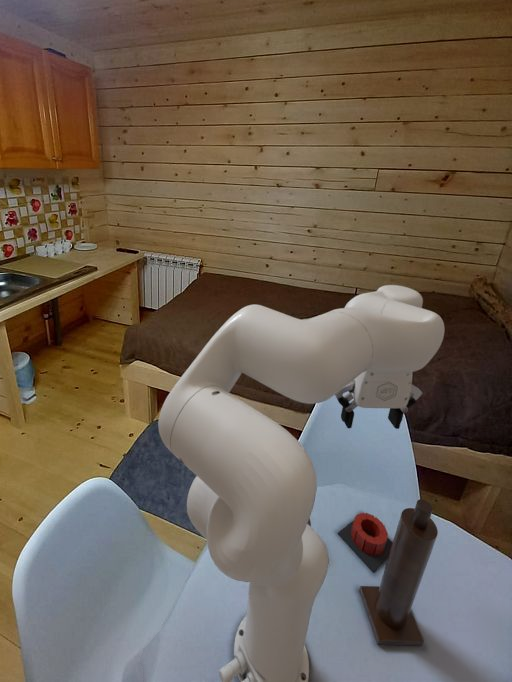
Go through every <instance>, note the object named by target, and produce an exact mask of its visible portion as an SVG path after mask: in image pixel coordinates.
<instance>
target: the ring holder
mask: <svg viewBox="0 0 512 682" xmlns="http://www.w3.org/2000/svg"><path fill="white" fill-rule="evenodd" d="M433 511H434V508H433V506H432V504H431V503H430V502H429V501H427V500H425V499H422V498H421V499H420V498H419V499H417V501H416V504H415V505H414V507H406V508H404V509H402V511H401V513H400V517H399V519H398V524H397V526H396V531H395V534H394V538H393V540H392V542H393V544H392V547H391V550H390V554H389V557H388V559H387V560H386V564H385V566H384V570H383V574H382V577H381V581H380V584H379V586H378V585H377V586H376V585H375V586H374V585H370V586H369V585H359V589H358V592H359V595H360V598H361V601H362V604H363V607H364V609H365V613H366V616H367V619H368V622H369V624H370V627H371V630H372V633H373V636H374V639H375V642H376V645H385V646H386V645H387V646H391V645H392V646H423V645H424V641H425V640H424V637H423V636H422V633H421V631H420V629H419V627H418V624H417V621H416V619H415V617H414V615H413V613H412V607H413V604H414V602H415V600H416V597H417V593H418V590H419V588H420V585H421V582H422V579H423V576H424V575H425V571H426V568H427V565H428V562H429V560H430V557H431V554H432V551H433V549H434V545H435V543H436V541H437V537H438V533H439V532H438V527H437V525H436V523H435V521H434V520H433V519H432V518H431V517H432V515H433V514H432V513H433Z"/></svg>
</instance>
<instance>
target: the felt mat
mask: <svg viewBox="0 0 512 682" xmlns="http://www.w3.org/2000/svg"><path fill="white" fill-rule="evenodd" d="M353 521H354V519H353V520H351V521H350V523H348V524H347V525H346V526H344V527H343V528H341V529H340V530H339V531H338V532H337V536H339V537H340V539H342V540H343V541H344V542H345V544H346V545H347V546H348V547H349V548H350V549H351V550H352V551H353V553H355V555H356V556H357V557H358V558H359V559H360V560H361V561H362V562H363V564H365V566H366V567H367V568H368V569H369V571H371V572H372V573H374V572H375V571H376V570H378V569H379V568H380V567H381V566H382V565H383V564H384V563H385V562H387V560H388V557H389V554H390V550H391V547H392V544H393V540H391V539H390V538H389V537H387V541H386V544H385V548H384V550H383V553H382V554H380V555H376V556H374V555H373V556H372V555H369V554H367V553H364V552H363V551H361V550H360V549H359V548H358V546H357V545H356V544H355V542H353V538H352V535H351V529H352V525H353ZM363 531H364V532H365V533H366V534H367V535H369V536H371V537H375V536H374V535H373V534H372V533H371V532H369V531H366V530H363Z"/></svg>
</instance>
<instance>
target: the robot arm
mask: <svg viewBox="0 0 512 682" xmlns="http://www.w3.org/2000/svg"><path fill="white" fill-rule="evenodd" d="M423 304H424V298H423V296H422V294H421V293H420V292H418V291H417V290H415V289H413V288H410V287H407V286H403V285H399V284H398V285H396V284H386V285H382V286H380V287H378V288H377V290H375V291H370V292H369V291H368V292H363V293H360V294H358V295H355V296H354V297H353V298H351V299H350V300H349V301H348V302H347V303H346V304H345V306H344V307H343V308H341V307H340V308H335V309H332V310H330V311H328V312H325V313H322V314H319V315H317V316H314V317H310V318H308V319H300V318H297V317H294V316H292V315H288V314H285V313H284V312H280V311H278V310H275V309H273V308H270V307H267V306H264V305H262V304H249V305H246V306H243V307H242V308H241V309H239V310H238V311H236V312H235V313H234V314H232V315H231V316H230V317H229V318H228V319H227V320H226V321H225V322H224V323H223V325H222V326H221V327H219V329H218V330H217V331H216V332H215V333H214V334H213V336H212V337H211V338H210V339H209V341H208V342H207V343H206V344H205V345H204V347H203V348H202V350H200V352H199V353H198V355H197V356H196V357H195V359H193V361H192V362H191V364H190V365H189V367H188V368H187V369H186V370H185V371H184V373H183V374H182V375H181V376H180V378H179V379H178V381H177V382H176V383H175V384H174V386H173V387H172V389H171V390H170V392H169V393H168V395H167V396H166V398H165V400H164V402H163V404H162V407H161V409H160V412H159V416H158V421H157V424H158V425H157V426H158V433H159V436H160V439H161V441H162V443H163V444H164V446H165V447H166V449H168V451H169V452H170V453H171V454H172V455H173V456H174V457H175V458H176V459H177V460H179V461H180V462H181V463H182V464H183V465H184V466H185V467H186V468H187V469H188V470H189V471H190V472H192V473H193V474H194V475H195V478H194V479H193V481H192V483H191V485H190V487H189V491H188V493H187V499H186V513H187V517H188V519H189V521H190V522H191V524H192V525H193V527H194V528H195V529H196V530H197V532H198V533H199V534H200V535H201V536H202V537H203V538H204V539H205V541H206V545H207V549H208V553H209V556H210V558H211V560H212V562H213V564H214V565H215V566H216V568H217V569H218V570H219V571H220V572H221V573H222V574H224V575H225V576H226V577H228V578H230V579H231V580H235V581H237V582H243V583H249V585H248V596H247V606H246V615H245V616H244V618H243V619H242V620H241V622H240V624H239V626H238V627H237V630H236V632H235V633H236V634H235V638H234V643H233V659H232V660H231V661H230V662H227V663H226V664H225V665H224V666H223V667H221V668H220V669H219V670H218V674H219V675H218V676H219V678H220V680H221V682H232V681H234V680H235V678H236V677H237V678H238V681H239V682H309V679H310V677H309V675H310V661H309V660H310V659H309V653H308V650H307V646H306V639H307V635H308V630H309V625H310V619H311V615H312V610H313V606H314V603H315V600H316V598H317V597H318V594H319V592H320V590H321V588H322V586H323V584H324V582H325V579H326V578H327V577H326V576H327V573H328V570H329V561H330V557H329V552H328V549H327V546H326V543H325V542H324V540H323V539H322V538H321V536H320V535H319V534H318V533H317V531H316V530H315V529H314V528H313V527H312V526H311V527H310V526H309V525H308V524H307V523H308V521H309V518H310V519H311V516H312V512H313V509H314V505H315V502H316V497H317V488H318V485H317V473H316V470H315V469H316V468H315V466H314V463H313V461H312V459H311V457H310V455H309V453H308V452H307V451H306V448H304V446H303V445H302V444H301V443H300V441H299V440H298V439H297V438H296V437H295V436H294V435H292V433H290V431H288V430H287V429H286V428H284V426H282V425H281V424H280V423H278V422H276V421H275V420H273V419H272V418H270V417H268V416H267V415H265V414H264V413H262V412H261V411H259V410H257V409H256V408H254V407H252V406H251V405H249V404H248V403H246V402H245V401H243V400H241V399H239V398H238V397H236V396H235V395H233V394H232V393H230V392H231V391H232V389H233V387H234V386H235V384H236V383H237V381H239V378H240V376H241V375H242V374H244V375H245V376H247V377H249V378H251V379H253V380H255V381H257V382H259V383H261V384H262V385H264V386H265V387H267V388H269V389H271V390H272V391H274V392H275V393H278V394H280V395H282V396H284V397H286V398H289V399H290V400H293V401H296V402H298V403H301V404H302V403H303V404H307V405H308V404H309V405H313V404H320V403H323V402H326V401H328V400H330V399H331V398H332V397H334V396H335V398H336V400H337V402H338V403H339V404H340V406H342V408H341V413H340V418H341V421H342V422H343V423H344V424H345V427H346V429H351V428H352V427H353V421H354V418H355V412H354V410H355V409H356V408H357V407H359V408H362V409H389V411H388V415H387V419H388V421H389V422H390V424H391V425H392V427H393V428H394V429H396V430H399V429H400V427H401V424H402V421H403V418H404V414H405V413H408V412H409V408H410V407H412V406H413V405H415V404H416V403H417V400H418V399H419V398H420V397H421V396H422V395H423V391H422V390H421V389H420V388H419V387H418V386H415V385H414V384H413V373H414V372H417V371H420V370H422V369H423V368H424V367H426V366H427V365H428V363H430V361H431V360H432V359H433V358H434V356H435V355H436V354H437V352H438V351H439V349H440V348H441V345H442V343H443V341H444V336H445V323H444V320H443V319H442V317H441V316H440V314H438V313H436V312H434V311H432V310H429V309H426V308H423ZM345 393H347V394H346V395H345V396H344V395H343V394H345Z"/></svg>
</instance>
